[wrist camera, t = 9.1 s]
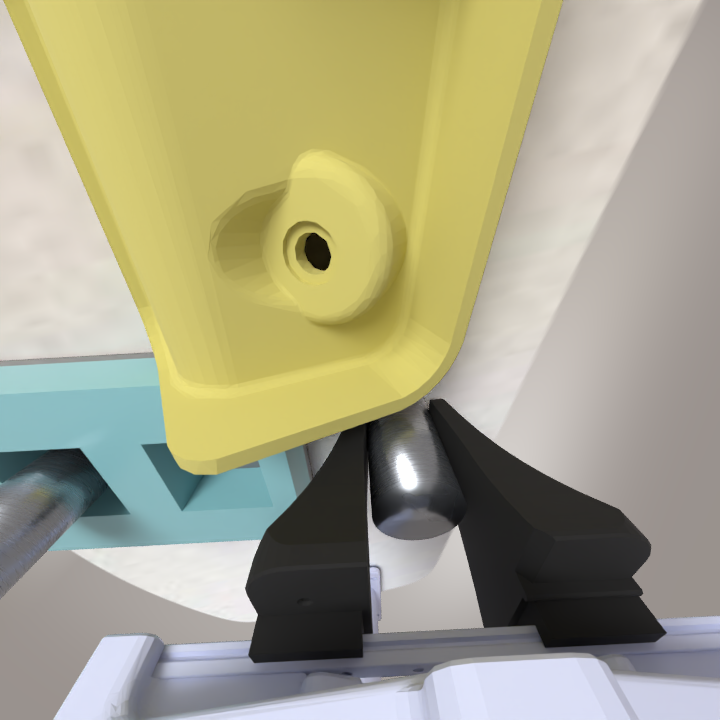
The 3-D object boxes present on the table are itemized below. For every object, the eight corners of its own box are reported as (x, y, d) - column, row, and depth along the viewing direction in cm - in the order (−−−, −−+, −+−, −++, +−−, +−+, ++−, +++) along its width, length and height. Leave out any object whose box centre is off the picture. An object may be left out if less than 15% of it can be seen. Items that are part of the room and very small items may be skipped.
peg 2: (420, 420, 14) (460, 537, 9) (365, 423, 14) (373, 542, 9) (423, 373, 13) (473, 479, 8) (363, 377, 13) (370, 485, 8)
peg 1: (144, 467, 14) (18, 607, 9) (89, 466, 14) (-72, 607, 9) (124, 425, 13) (-38, 560, 8) (63, 424, 13) (-144, 560, 8)
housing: (314, 486, 17) (307, 537, 14) (97, 498, 17) (48, 551, 14) (285, 344, 12) (266, 379, 9) (-16, 361, 12) (-122, 401, 9)
